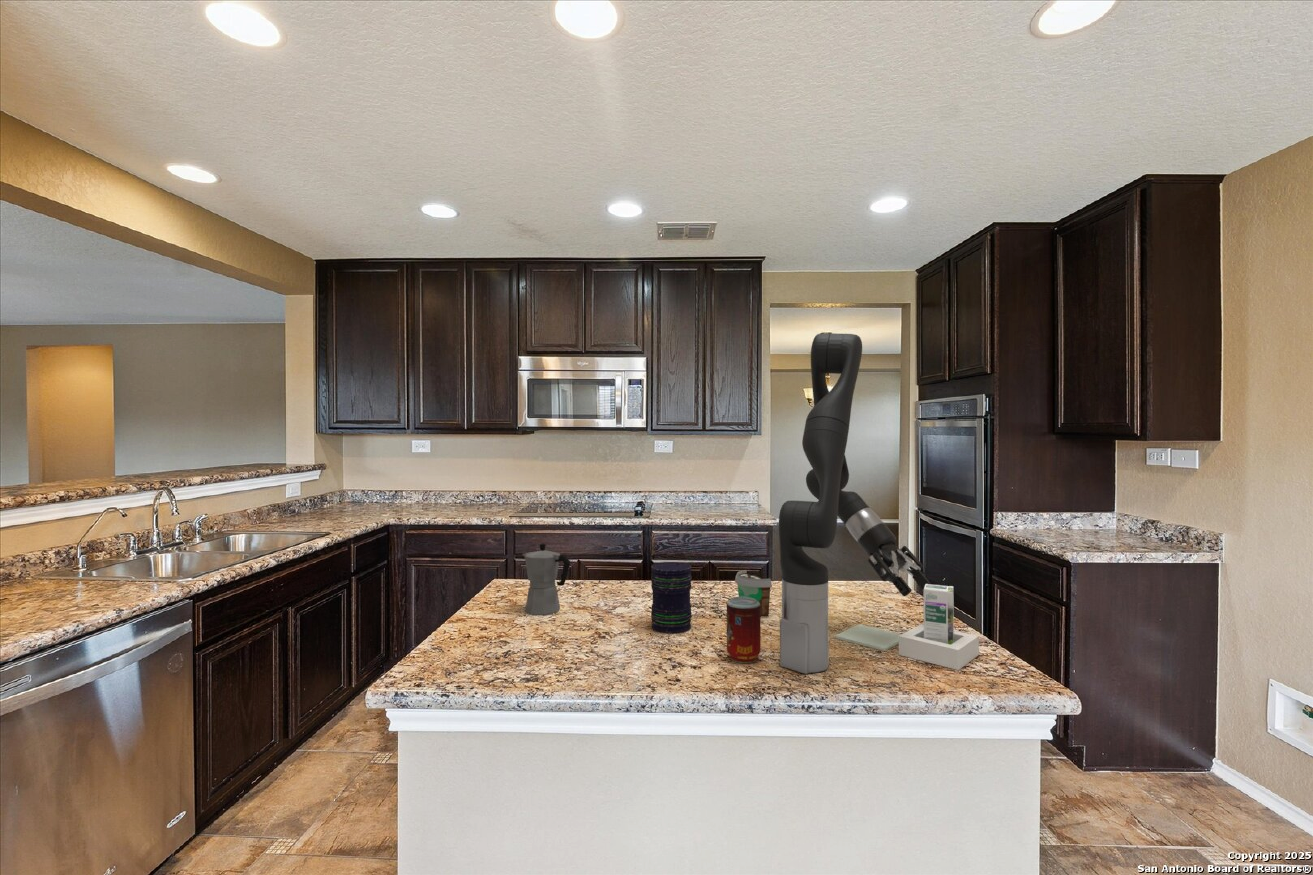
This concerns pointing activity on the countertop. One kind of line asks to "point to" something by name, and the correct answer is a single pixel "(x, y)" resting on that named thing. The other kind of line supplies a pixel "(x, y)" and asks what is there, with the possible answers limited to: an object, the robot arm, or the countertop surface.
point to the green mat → (870, 637)
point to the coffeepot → (544, 580)
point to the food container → (754, 589)
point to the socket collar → (939, 648)
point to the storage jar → (671, 597)
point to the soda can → (743, 629)
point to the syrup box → (939, 613)
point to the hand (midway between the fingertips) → (918, 590)
